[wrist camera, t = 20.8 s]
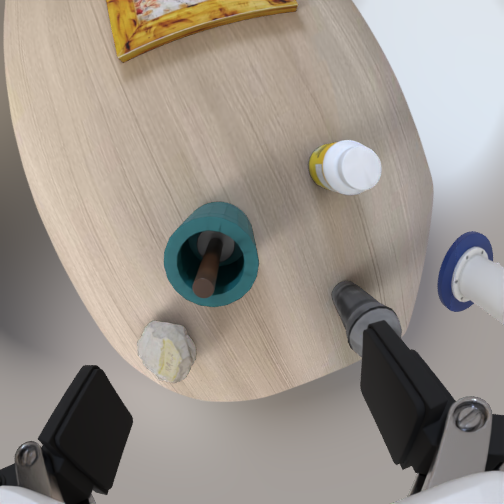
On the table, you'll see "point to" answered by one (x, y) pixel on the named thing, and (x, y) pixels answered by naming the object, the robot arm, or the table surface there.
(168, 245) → the jar
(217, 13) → the picture frame
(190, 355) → the fossil replica
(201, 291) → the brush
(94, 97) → the table surface
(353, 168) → the pill bottle
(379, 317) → the beverage cup
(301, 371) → the table surface
